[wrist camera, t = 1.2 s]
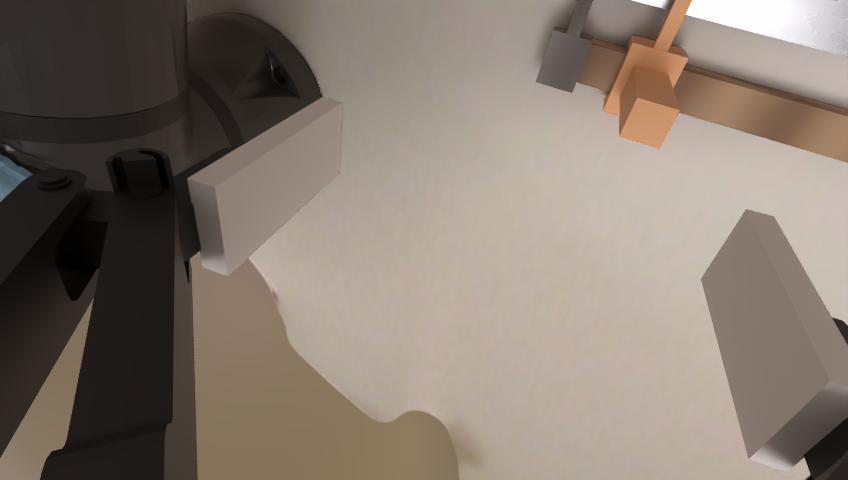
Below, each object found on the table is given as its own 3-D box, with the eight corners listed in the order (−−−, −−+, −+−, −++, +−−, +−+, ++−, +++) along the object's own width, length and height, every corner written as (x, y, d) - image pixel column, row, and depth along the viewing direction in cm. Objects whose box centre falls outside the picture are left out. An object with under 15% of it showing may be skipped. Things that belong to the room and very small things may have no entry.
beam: (542, 70, 33) (535, 81, 30) (597, -94, 27) (595, -96, 25) (995, 204, 28) (1032, 231, 26) (1175, 40, 23) (1244, 55, 20)
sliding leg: (604, 98, 32) (598, 151, 24) (679, -75, 26) (702, -78, 18) (651, 113, 31) (660, 171, 24) (739, -61, 25) (789, -58, 18)
